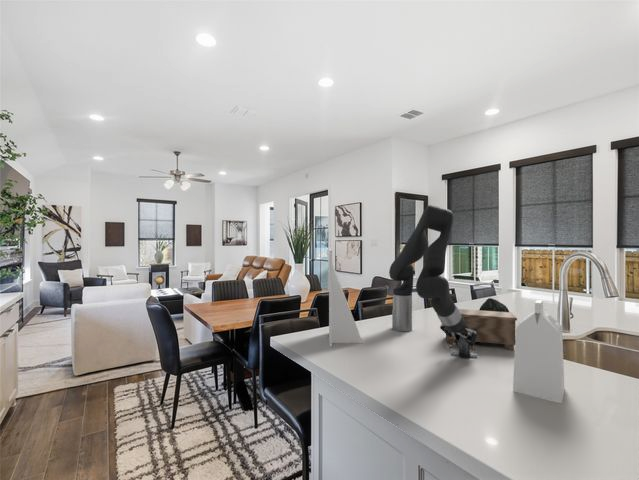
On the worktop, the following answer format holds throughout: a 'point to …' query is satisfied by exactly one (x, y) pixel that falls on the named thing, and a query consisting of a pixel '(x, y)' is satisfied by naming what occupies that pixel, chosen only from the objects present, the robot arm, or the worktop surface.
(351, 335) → the white bracket plate
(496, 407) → the worktop surface
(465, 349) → the joystick
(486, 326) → the cabinet
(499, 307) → the squash
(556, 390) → the milk
